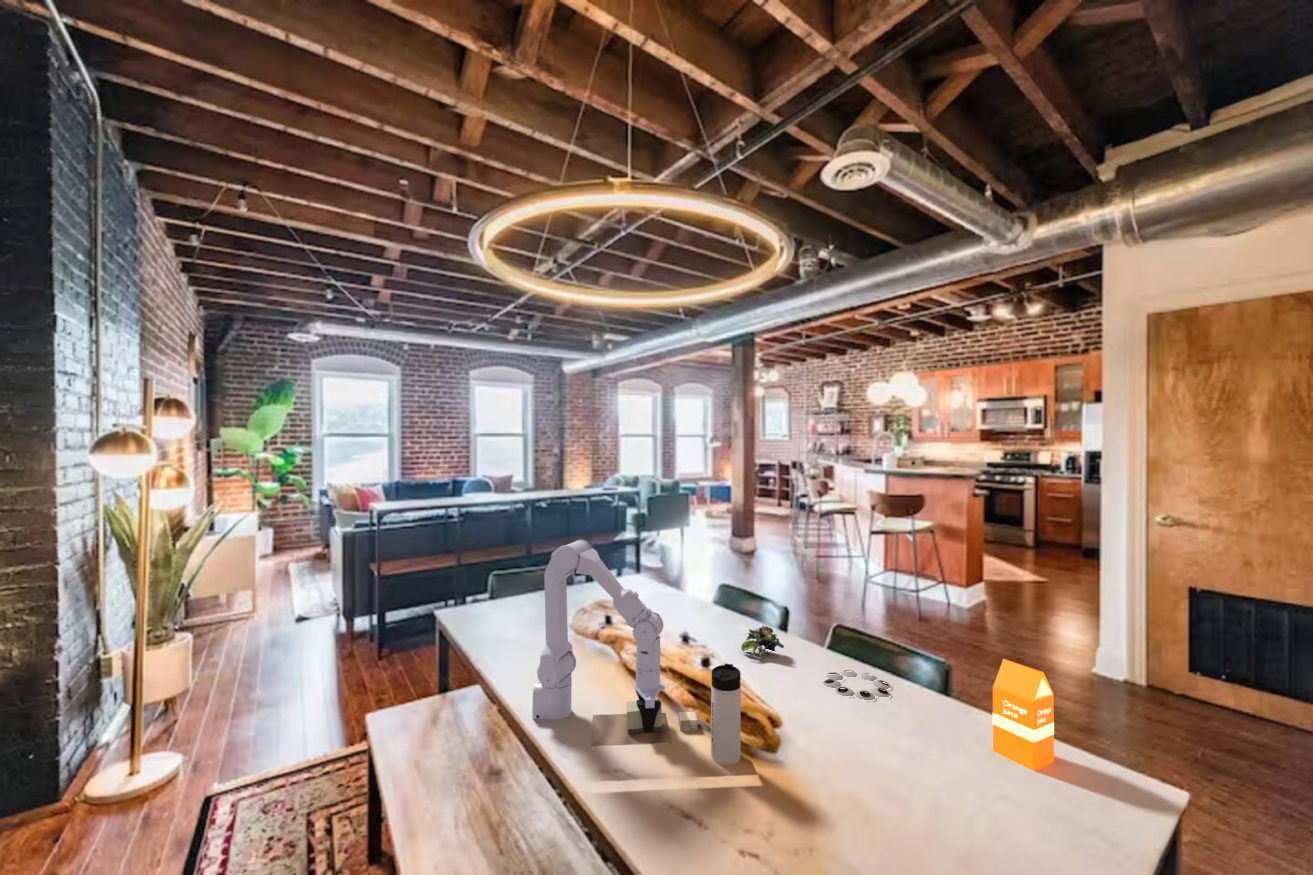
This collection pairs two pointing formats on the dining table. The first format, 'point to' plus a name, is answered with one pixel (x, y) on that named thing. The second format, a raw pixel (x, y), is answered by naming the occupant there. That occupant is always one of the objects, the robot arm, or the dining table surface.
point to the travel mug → (725, 714)
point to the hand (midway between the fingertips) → (647, 724)
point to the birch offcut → (687, 721)
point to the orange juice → (1023, 716)
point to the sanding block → (640, 718)
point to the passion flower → (761, 640)
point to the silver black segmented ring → (857, 694)
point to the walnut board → (624, 732)
